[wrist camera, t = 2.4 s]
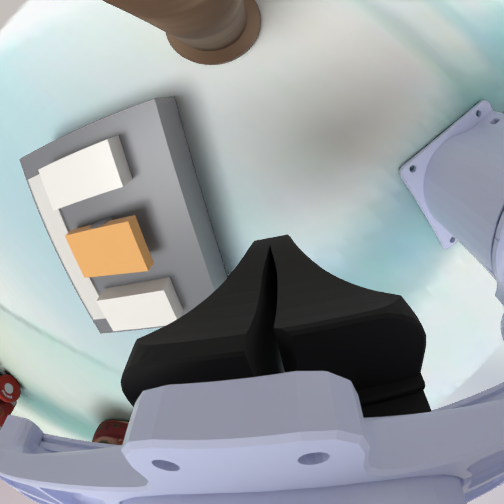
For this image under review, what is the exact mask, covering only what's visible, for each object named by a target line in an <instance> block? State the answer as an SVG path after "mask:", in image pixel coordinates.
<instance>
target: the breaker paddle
mask: <svg viewBox="0 0 504 504" xmlns="http://www.w3.org/2000/svg"><path fill="white" fill-rule="evenodd" d="M65 238H66V240H67V242H68V244H69V246H70V249H71V251H72V253H73V255H74V257H75V259H76V261H77V263H78V265H79V268H80V270H81V272H82V274H83V276H84V278H88V277H98V276H107V275H116V274H125V273H135V272H144V271H149V269H150V268H151V267H152V265H153V264H154V262H153V259H152V257H151V255H150V252H149V250H148V247H147V245H146V242H145V240H144V237H143V234H142V232H141V229H140V227H139V224H138V221H137V219H136V216H135V215H133V216H128V217H124V218H119V219H115V220H112V218H111V217H107V218H104V219H101V220H99V221H97V222H95V223H94V224H92V225H89V226H85V227H81V228H77V229H72V230H71V231H70V232H69V233H67V234H66V235H65Z"/></svg>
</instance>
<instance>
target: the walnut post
mask: <svg viewBox="0 0 504 504" xmlns="http://www.w3.org/2000/svg"><path fill="white" fill-rule="evenodd" d="M103 1H105V2H106V3H109V4H111V5H113V6H115V7H117V8H120V9H122V10H124V11H126V12H128V13H130V14H132V15H134V16H136V17H138V18H140V19H142V20H144V21H146V22H148V23H150V24H152V25H154V26H156V27H157V28H159V29H161V30H163V31H165V32H166V35H167V38H168V41H169V43H170V45H171V46H172V47H173V49H174V50H175V51H176V52H177V53H178V54H180V55H181V56H182V57H184V58H186V59H188V60H190V61H193V62H196V63H199V64H205V65H218V64H223V63H227V62H230V61H232V60H234V59H236V58H238V57H240V56H241V55H243V54H244V53H245V52H246V51H247V50H248V49H250V47H251V46H252V45H253V43H254V42H255V40H256V38H257V36H258V33H259V30H260V12H259V9H258V6H257V4H256V2H255V0H103Z"/></svg>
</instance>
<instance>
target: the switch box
mask: <svg viewBox="0 0 504 504" xmlns="http://www.w3.org/2000/svg"><path fill="white" fill-rule="evenodd" d="M20 162H21V165H22V168H23V171H24V174H25V177H26V180H27V183H28V185H29V188H30V191H31V193H32V196H33V199H34V201H35V204H36V206H37V209H38V211H39V214H40V216H41V218H42V221H43V223H44V226H45V228H46V230H47V232H48V235H49V237H50V239H51V241H52V244H53V246H54V248H55V250H56V252H57V254H58V256H59V258H60V260H61V263H62V265H63V267H64V269H65V271H66V273H67V274H68V276H69V278H70V280H71V282H72V284H73V286H74V288H75V290H76V292H77V293H78V295H79V297H80V299H81V301H82V303H83V304H84V306H85V308H86V310H87V311H88V313H89V315H90V317H91V318H92V320H93V322H94V323H95V325H96V327H97V328H98V330H99V332H100V333H111V332H121V331H131V330H140V329H149V328H158V327H164V326H166V325H168V324H170V323H172V322H173V321H175V320H177V319H178V318H180V317H182V316H183V315H185V314H186V313H188V312H189V311H191V310H192V309H193V308H195V307H196V306H197V305H198V304H200V303H201V302H202V301H204V300H205V299H206V298H207V297H209V296H210V295H211V294H212V293H213V292H214V291H215V290H216V289H217V288H218V287H219V286H220V285H221V284H222V283H223V282H224V281H225V280H226V279H227V278H228V277H227V274H226V271H225V268H224V264H223V261H222V258H221V255H220V252H219V248H218V245H217V242H216V239H215V235H214V232H213V229H212V226H211V222H210V219H209V216H208V212H207V209H206V206H205V202H204V199H203V196H202V192H201V189H200V186H199V182H198V179H197V175H196V172H195V168H194V165H193V162H192V158H191V155H190V151H189V148H188V144H187V140H186V137H185V133H184V130H183V126H182V123H181V119H180V115H179V112H178V108H177V104H176V101H175V97H165V98H157V99H152V100H150V101H147V102H144V103H141V104H138V105H136V106H133V107H130V108H128V109H125V110H122V111H120V112H117V113H115V114H112V115H110V116H107V117H105V118H103V119H100V120H98V121H95V122H93V123H91V124H89V125H86V126H84V127H82V128H80V129H77V130H75V131H73V132H71V133H69V134H67V135H65V136H63V137H61V138H59V139H57V140H55V141H53V142H51V143H49V144H47V145H45V146H43V147H41V148H39V149H37V150H35V151H33V152H32V153H30V154H28V155H26V156H24V157H22V158H21V159H20ZM133 215H135V216H136V219H137V221H138V224H139V227H140V229H141V232H142V234H143V237H144V240H145V242H146V245H147V247H148V250H149V252H150V255H151V257H152V259H153V262H154V264H153V265H152V267H151V268H150V269H149V271H144V272H135V273H125V274H116V275H107V276H98V277H88V278H84V276H83V274H82V272H81V270H80V268H79V265H78V263H77V261H76V259H75V257H74V255H73V253H72V251H71V249H70V246H69V244H68V242H67V240H66V238H65V235H66V234H67V233H69V232H70V231H71V230H72V229H77V228H81V227H85V226H89V225H92V224H94V223H95V222H97V221H99V220H101V219H104V218H107V217H111V218H112V220H115V219H119V218H124V217H128V216H133Z"/></svg>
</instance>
